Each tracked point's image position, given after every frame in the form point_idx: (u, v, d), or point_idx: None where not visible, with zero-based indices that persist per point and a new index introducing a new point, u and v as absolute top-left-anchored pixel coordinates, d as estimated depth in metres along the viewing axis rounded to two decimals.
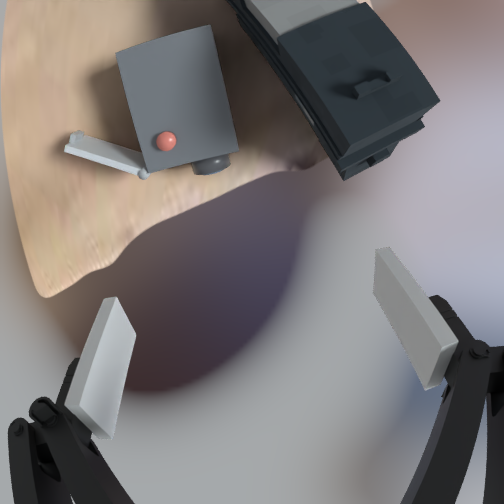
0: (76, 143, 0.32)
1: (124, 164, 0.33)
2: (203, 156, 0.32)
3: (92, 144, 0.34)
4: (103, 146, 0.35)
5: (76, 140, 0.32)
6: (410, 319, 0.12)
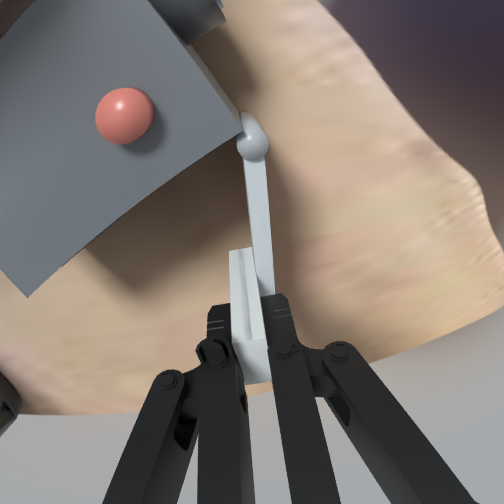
0: None
1: (250, 203, 0.13)
2: (139, 4, 0.08)
3: None
4: (252, 246, 0.18)
5: None
6: None
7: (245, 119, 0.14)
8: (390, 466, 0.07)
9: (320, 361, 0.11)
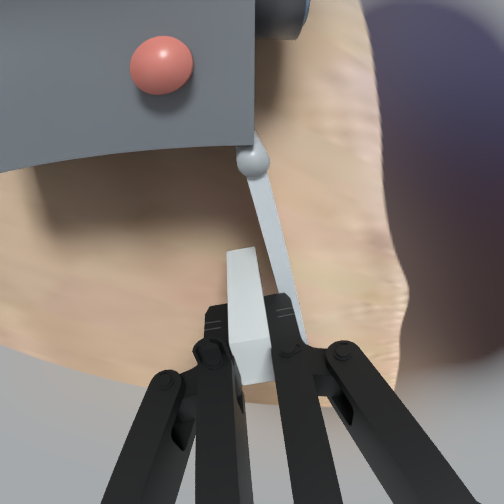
0: None
1: (260, 220, 0.13)
2: None
3: None
4: None
5: None
6: None
7: None
8: (393, 465, 0.07)
9: (324, 360, 0.11)
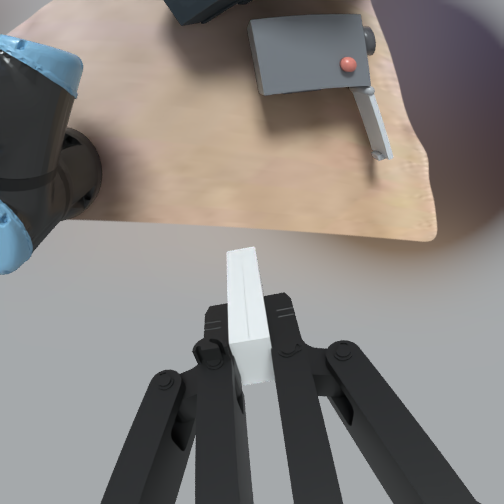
0: (382, 152, 0.42)
1: (373, 108, 0.37)
2: (362, 40, 0.32)
3: (375, 140, 0.43)
4: (371, 130, 0.42)
5: (380, 153, 0.43)
6: None
7: None
8: (393, 465, 0.07)
9: (324, 360, 0.11)
